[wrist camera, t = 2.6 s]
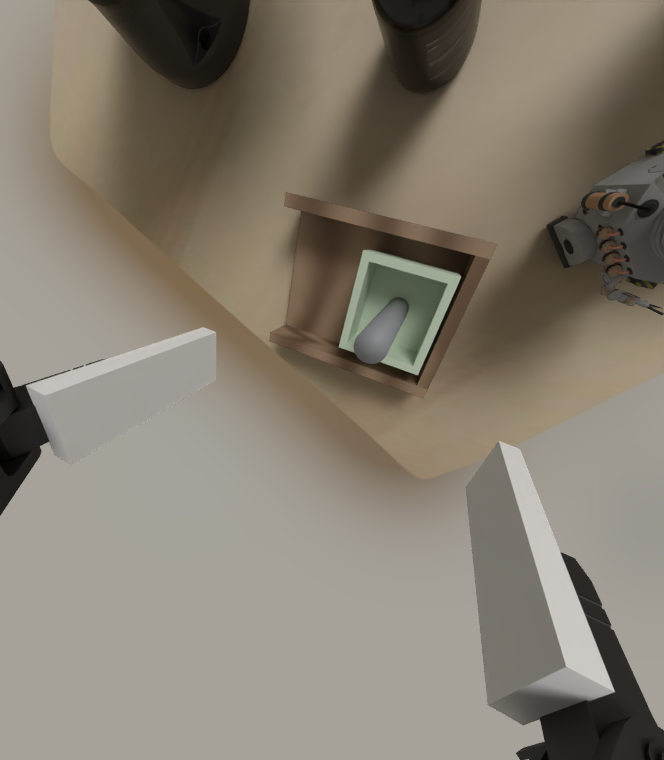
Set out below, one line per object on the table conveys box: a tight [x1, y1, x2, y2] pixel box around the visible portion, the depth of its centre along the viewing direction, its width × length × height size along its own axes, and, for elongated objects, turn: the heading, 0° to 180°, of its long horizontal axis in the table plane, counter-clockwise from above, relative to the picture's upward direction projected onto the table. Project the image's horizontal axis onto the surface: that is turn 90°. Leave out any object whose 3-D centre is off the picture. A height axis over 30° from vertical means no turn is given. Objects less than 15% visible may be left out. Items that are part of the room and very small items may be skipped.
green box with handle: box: [339, 249, 461, 375], centre depth 25 cm, size 9×10×15 cm
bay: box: [269, 192, 497, 398], centre depth 31 cm, size 20×16×5 cm
